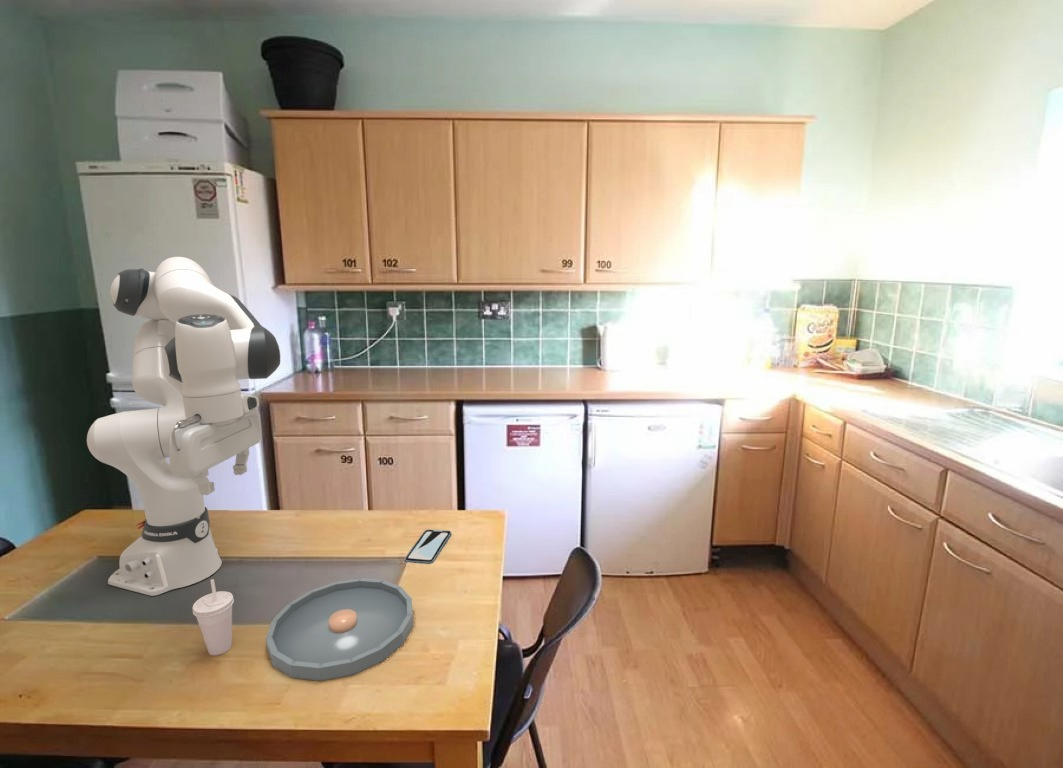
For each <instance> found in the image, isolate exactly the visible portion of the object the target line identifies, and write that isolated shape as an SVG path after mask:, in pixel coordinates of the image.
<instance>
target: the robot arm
mask: <svg viewBox="0 0 1063 768" xmlns="http://www.w3.org/2000/svg"><path fill="white" fill-rule="evenodd" d="M110 296H111V297H110V298H111V301H112V304H113V305H112V306H114V308H115V309H116V311H118V312H120V313H123V314H126V315H129V316H131V317H134V316H137V317H140V318H145V319H148V320H146V321H145V322H143V323H142V325H140V327H139V329H138V330H137V334H136V337H135V341H134V345H133V351H132V379H131V381H132V384H131V385H132V388H133V391H134V392H135V394H137V395H138V396H139V397H140V398H142V399H143V400H145V401H147V402H149V403H152V404H155V405H159V406H161V407H156V408H155V407H154V408H146V409H138V410H136V409H135V410H128V411H121V412H117V413H113V414H109V415H106V416H103V417H98V418H97V419H96V420H94V422H93V423H92V424H91V425H90V427H89V429H88V430H87V431H88V432H87V435H86V445H87V449H88V450H89V452H90V454H91V455H92V456H93V457H94V458H95V459H96V460H98V461H99V462H101V463H103V464H105V465H109V466H111V467H113V468H115V469H117V470H119V471H120V472H122V473H123V474H124V475H126V477H128V478H129V479H130V480H131V481H132V482H133V483H134V486H135V487H136V488H137V490H138V492H139V494H140V498H141V501H142V506H143V510H144V515H145V519H144V520H143V521H141V522H139V523H137V524H136V525H135V526H136V530H140V529H141V528H142V532H141V536H139V537H138V538H136V540H134V541H133V542H132V543H130V545H129V546H127V547H126V549H124V550H123V552H122V553H121V554H120V556H119V562H118V563H119V568H118V569H116V570H115V571H114V572H112V574H111V575H110V577H108V580H107V584H108V585H109V586H112V587H116V588H120V589H124V590H128V591H132V592H136V593H139V594H142V595H146V596H151V597H153V596H158V595H161V594H163V593H167V592H169V591H172V590H176V589H180V588H184V587H188V586H191V585H193V584H196V583H199V582H201V581H203V580H205V579H207V578H209V577H210V576H211V575H213V574H215V573H216V572H217V571H218V570H219V569H220V568H221V566H222V563H223V562H222V559H221V558H220V556H219V549H218V547H216V545H215V542H214V538H213V535H212V531H211V528H210V523H211V522H210V516H209V515H210V514H209V511H208V508H207V507H206V506H205V499H204V496H209V495H210V494H212V493H213V492H215V483H214V482H213V481H210V480H209V479H208V477H207V476H209V474H210V473H209V470H210V469H213V468H214V467H215V466H218V465H219V464H221V463H223V462H225V461H227V460H229V459H230V458H233V457H235V462H234V463H235V464H234V465H232V469H233V474H234V475H235V476H242V475H244V474H245V473H247V472H248V467H247V465H248V464H247V463H248V460H249V456H250V449H251V447H254V446H255V445H257V444H259V443H260V441H261V439H262V423H261V415H260V412H259V410H258V408H259V407H260V400H259V397H258V396H256V395H249V394H243V393H242V389H241V385H240V383H239V381H240V380H262V379H264V380H265V379H266V380H267V379H268V378H269V377H270V376H271V375H273V374H274V372H276V370H277V369H278V368H279V367H280V365H281V350H280V345H279V343H278V341H277V338H276V337H275V335H274V334H273V333H272V332H271V331H270V330H269V329H267V328H266V327H264V326H263V325H261V324H260V322H259V321H258V320H257V318H256V317H255V316H254V315H253V314H252V312H251V311H250V310H249V309H248V308H247V307H246V305H244V304H243V302H242V301H241V300H240V299H239V298H238V297H236V296H234V295H232V294H230V293H227V292H225V291H223V290H222V289H220V288H218V287H216V286H215V285H214V284H213V282H212V281H211V279H210V277H209V275H208V274H207V272H206V271H205V269H204V268H203V267H202V266H201V265H199V263H198V262H196V261H194V260H193V259H192V258H191V259H190V258H189V257H184V256H171V257H168V258H166V259H164V260H163V261H161V263H160V264H158V266H157V268H156V270H155V271H148V270H145V269H144V268H137V269H136V268H133V269H132V268H131V269H130V268H129V269H124V270H122V271H120V272H118V274H117V275H116V277H115V278H114V279H113V281H112V282H111V286H110ZM168 458H169V462H168V461H167V460H166V459H168Z"/></svg>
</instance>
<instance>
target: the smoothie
mask: <svg viewBox="0 0 1063 768" xmlns="http://www.w3.org/2000/svg"><path fill="white" fill-rule="evenodd" d="M215 583H216V582H215V579H214V578H211V579H210V586H211V593H208V594H206V595H204V596H201V597H200V598H198V599H197V600H195V602H194V603H193V605H192V614H193V615H194V616H195V617H196V619H197V623H198V626H199V629H200V631H201V634H202V637H203V641H204V643H205V646H206V649H207V652H208V655H210V656H219V655H223V654H225V653H227V652H228V651H229V650H230V649H231V648H232V645H233V641H232V640H233V637H232V635H233V633H232V632H233V604H234V602H235V599H234V594H232V593H231V592H229V591H224V590H221V591H216V590H217V589H216V584H215Z"/></svg>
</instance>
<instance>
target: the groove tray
mask: <svg viewBox="0 0 1063 768" xmlns="http://www.w3.org/2000/svg"><path fill="white" fill-rule="evenodd" d="M413 613H414V612H413V598H412V597H411V595H409V594H408V592H407V591H406V590H405V589H404V588H403V587H402V586H401V585H397V584H395V583H393V582H390V581H387V580H385V579H377V578H366V577H365V578H364V577H360V578H352V579H347V580H339V581H334V582H331V583H329V584H325V585H322V586H319V587H316V588H314V589H310V590H309V591H307V592H305V593H304V594H302V595H301V596H299V597H297V598H296V599H294V600H292V601H290V602H288V603H287V604H286V605H285V606H284V608H282V609H281V611H279V612H278V614H277V615H276V616H274V618H273V619H271V622H270V625H269V628H268V630H267V634H266V636H265V643H266V651H267V653H268V656H269V658H270V661H271V663H272V667H273V668H274V669H277V670H278V671H280V672H282V673H283V674H284V675H286V676H288V677H290V678H292V679H298V680H308V681H316V682H317V681H319V682H322V681H327V680H335V679H338V678H344V677H349V676H350V677H351V676H353V675H356V674H358V673H361V672H363V671H365V670H367V669H369V668H371V667H374V666H376V665H378V664H380V663H383V662H384V661H385V660H386V659H387V658H388V657H390V656H391V655H392V654H393V653H394V652H396V651H397V650H398V649H399V648H400V647H401V646H402V645H404V643H405V642H404V641H406V640H407V638H408V636H409V634H410V632H411V630H412V629H413V627H414V617H413V616H414V614H413Z"/></svg>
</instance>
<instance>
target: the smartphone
mask: <svg viewBox="0 0 1063 768" xmlns="http://www.w3.org/2000/svg"><path fill="white" fill-rule="evenodd" d="M451 536H452V531H451V530H445V529H443V530H442V529H425V530H424V531H423V533H422V534H421V535H420V536H419V537H418V539H417V540H416V542H415V543H414V544H413V546H412V547H411V549H410V550H409V551H408V553H407V554H406V555H405V556H404V562H406V563H412V564H413V563H415V564H417V563H418V564H427V565H430V564H433V563H435V560H437V558H438V556H439V555H440V553H441V552H442V550H443V548H444V547H445V546H446V545H447V543H448V540H449V539H450V537H451Z"/></svg>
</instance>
